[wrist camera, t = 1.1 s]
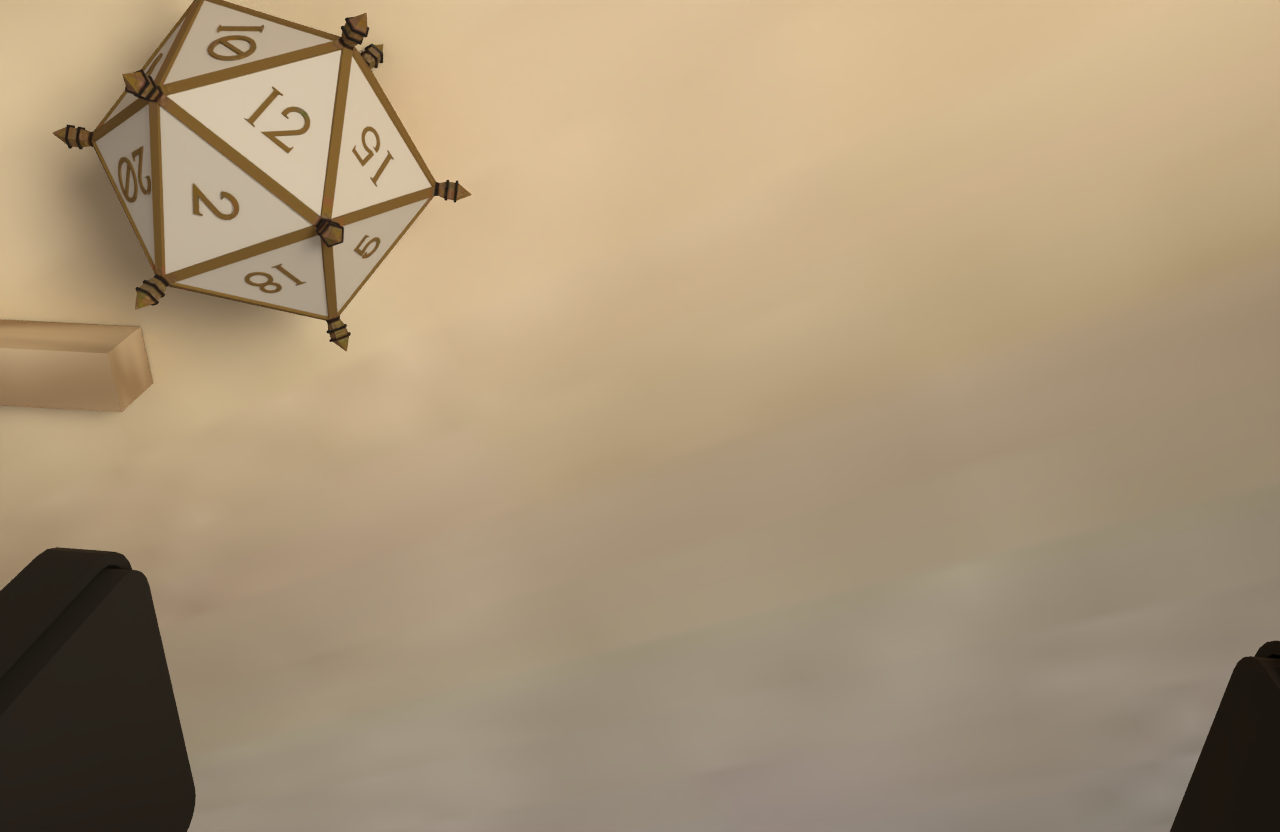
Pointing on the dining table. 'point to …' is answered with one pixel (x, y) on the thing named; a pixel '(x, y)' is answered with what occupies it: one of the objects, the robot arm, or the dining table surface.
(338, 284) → the game die
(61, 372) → the u-shaped tan bracket
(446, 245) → the dining table surface
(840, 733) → the dining table surface
